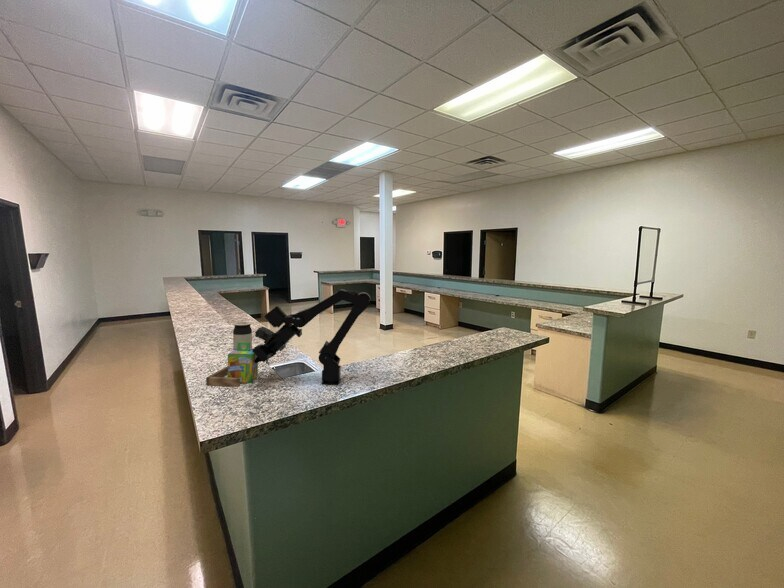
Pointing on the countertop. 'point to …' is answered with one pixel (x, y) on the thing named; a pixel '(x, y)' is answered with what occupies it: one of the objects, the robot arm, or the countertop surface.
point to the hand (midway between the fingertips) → (255, 362)
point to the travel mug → (242, 334)
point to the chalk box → (242, 363)
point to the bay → (222, 379)
